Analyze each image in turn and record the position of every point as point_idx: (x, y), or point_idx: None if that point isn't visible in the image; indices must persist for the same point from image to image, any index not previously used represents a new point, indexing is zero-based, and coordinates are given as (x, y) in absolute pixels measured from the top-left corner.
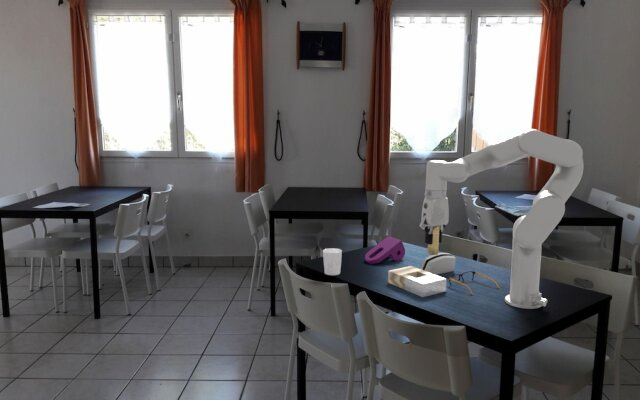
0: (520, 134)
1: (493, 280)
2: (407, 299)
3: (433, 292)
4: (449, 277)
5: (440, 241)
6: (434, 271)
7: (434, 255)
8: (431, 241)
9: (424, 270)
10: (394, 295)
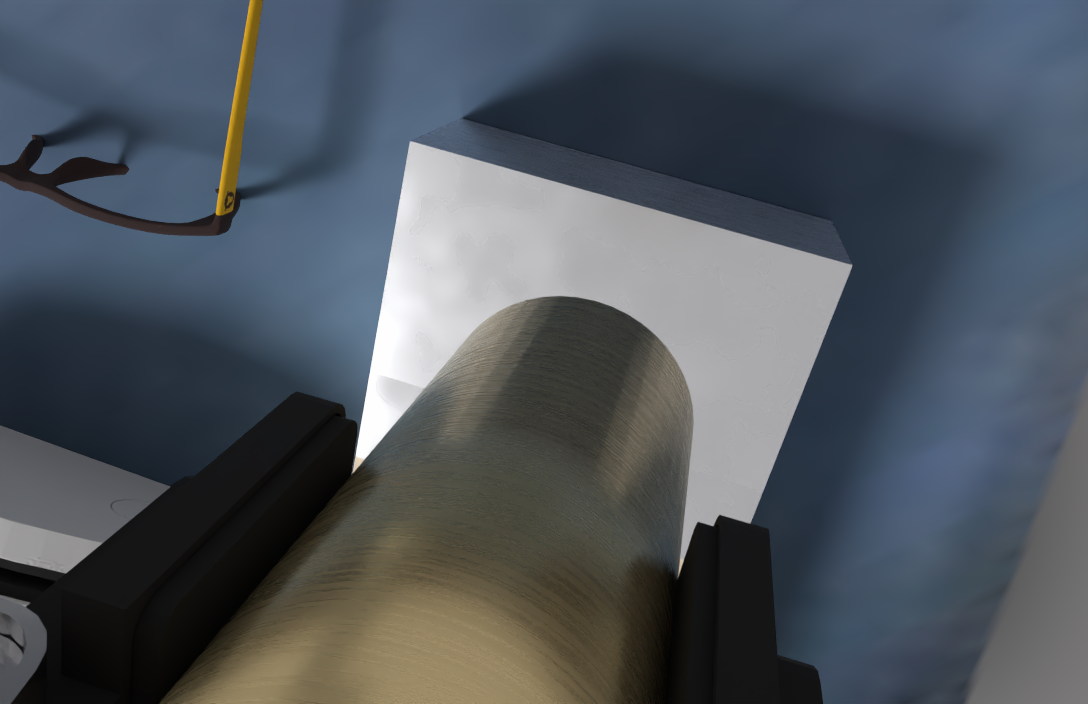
0: None
1: None
2: (1011, 317)
3: (659, 177)
4: (220, 216)
5: (328, 415)
6: (115, 485)
7: None
8: (763, 581)
9: None
10: (971, 487)
